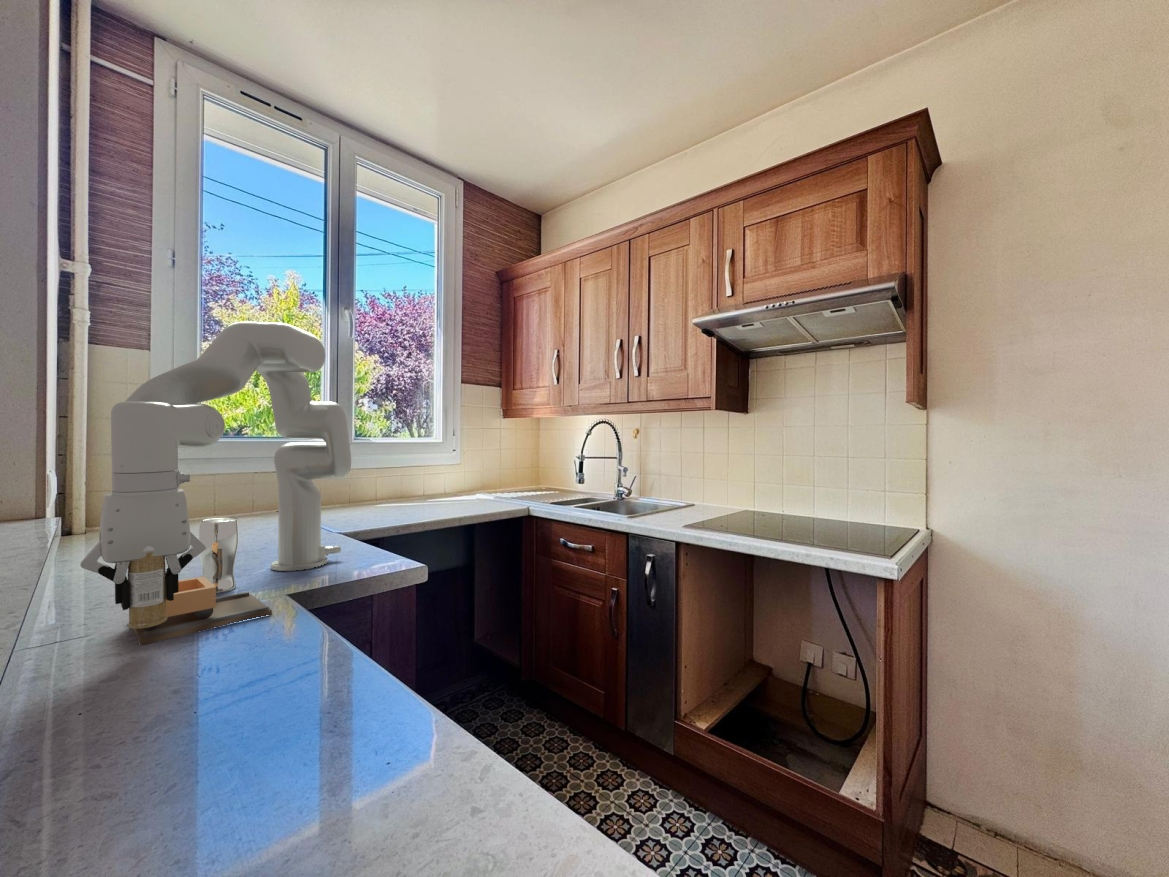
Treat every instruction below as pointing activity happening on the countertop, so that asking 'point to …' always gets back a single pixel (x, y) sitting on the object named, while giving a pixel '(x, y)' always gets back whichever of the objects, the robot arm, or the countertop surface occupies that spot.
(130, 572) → the sprinkles bottle
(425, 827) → the countertop surface
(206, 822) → the countertop surface
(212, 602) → the cart
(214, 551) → the beer glass
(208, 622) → the track board
